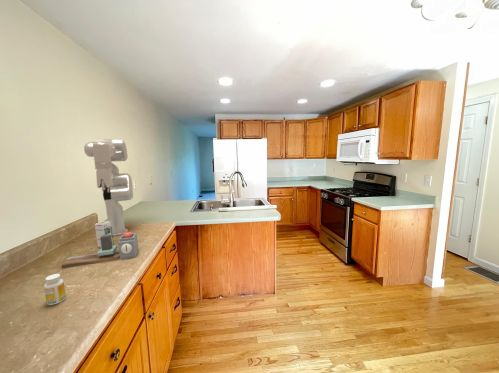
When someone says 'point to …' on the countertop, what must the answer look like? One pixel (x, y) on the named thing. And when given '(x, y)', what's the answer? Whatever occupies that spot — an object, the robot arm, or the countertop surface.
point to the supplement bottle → (54, 289)
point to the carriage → (106, 246)
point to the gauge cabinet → (128, 246)
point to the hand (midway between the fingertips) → (107, 199)
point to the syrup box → (103, 230)
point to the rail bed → (90, 259)
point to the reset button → (127, 235)
